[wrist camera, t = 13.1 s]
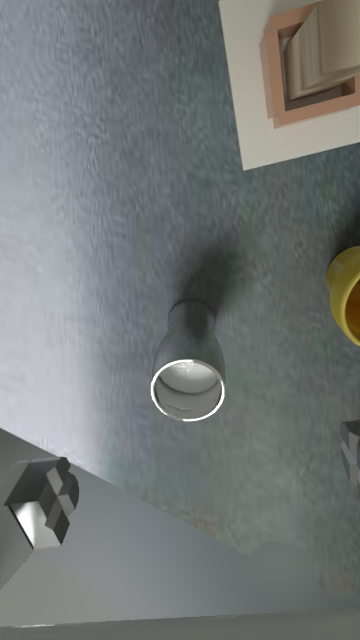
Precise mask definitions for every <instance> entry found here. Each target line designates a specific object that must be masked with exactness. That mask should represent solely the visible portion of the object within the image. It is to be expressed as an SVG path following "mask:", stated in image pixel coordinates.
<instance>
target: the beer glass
mask: <svg viewBox="0 0 360 640" xmlns="http://www.w3.org/2000/svg"><path fill="white" fill-rule="evenodd" d="M215 323H216V322H215V316H214V314H213V312H212V310H211V309H210V308H209V307H208V306H207V305H206V304H204V303H202V302H200V301H196V300H187V301H183V302H180V303H179V304H177V305H176V306H174V307H173V309H172V310H171V311H170V313H169V316H168V320H167V325H168V332H167V333H166V334H165V336H164V338H163V339H162V341H161V343H160V345H159V347H158V349H157V352H156V355H155V359H154V364H153V370H152V382H151V387H150V391H151V397H152V400H153V402H154V404H155V405H156V407H157V408H158V409H159V410H160V411H161V412H162V413H163V414H165V415H166V416H168V417H170V418H172V419H175V420H179V421H185V422H193V421H199V420H203V419H205V418H208V417H210V416H211V415H213V414H214V413H215V412H216V411H217V410H218V409H219V408H220V407H221V405H222V404H223V401H224V399H225V394H226V388H225V362H224V357H223V352H222V349H221V347H220V344H219V342H218V340H217V338H216V336H215V334H214V330H215Z"/></svg>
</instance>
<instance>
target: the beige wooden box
mask: <svg viewBox="0 0 360 640" xmlns="http://www.w3.org/2000/svg"><path fill="white" fill-rule="evenodd" d="M283 56H284V67H285V78H286V89H287V99H288V102H290V101H294V100H297V99H301V98H305V97H308V96H312V95H316V94H320V93H323V92H327V91H331V90H332V89H334V88H336V87H337V86H339V85H340V84H342V83H344V82H345V81H347V80H348V79H350V78H352V77H353V76H355V75H356V74H358V73H360V0H322V1H318V3H317V4H316V6H315V7H314V9H313V10H312V11H311V13H310V14H309V16H308V17H307V19H306V20H305V22H304V23H303V24H302V26H301V27H300V29H299V30H298V32H297V33H296V34H295V36H294V37H293V39H292V40H291V42H290V43H289V44H288V46H287V47H286V49H285V50H284V52H283Z"/></svg>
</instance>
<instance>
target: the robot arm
mask: <svg viewBox="0 0 360 640" xmlns="http://www.w3.org/2000/svg"><path fill="white" fill-rule="evenodd" d="M340 434H341V436H342V438H343V440H344V442H343V444H342V445H341V456H342V461H343V465H344V468H345V471H346V474H347V476H348V478H349V480H350V482H351V483H353V484H354V485H356V486H357V497H358V499H359V501H360V420H354V421H346V422H341V425H340ZM69 468H70V464H69V462H68V460H67V458H66V457H55V458H44V459H34V460H29V461H28V460H27V461H19V462H17V463H15V464H14V465H13V467H12V469H11V470H10V471H9V473H8V475H7V476H6V478H5V479H4V481H3V482H2V484H1V485H0V590H1V589H2V588H3V586H4V585H5V584H6V583H7V582H8V581H9V579H10V578H11V577H12V576H13V574H14V573H15V572H16V571H17V570H18V569H19V568H20V566H21V565H22V564H23V563H24V562H25V561H26V559H27V558H28V557H29V556H30V555H31V554H32V552H33V549H41V548H48V547H49V548H50V547H57V546H61V545H62V543H63V540H64V537H65V535H66V532H67V529H68V527H69V524H70V523H69V520H68V516H69V515H70V514H71V513H72V512H73V511H74V510H75V508H76V505H77V502H78V497H79V486H78V481H77V479H76V477H75V476H74V475H73V474H71V473H70V472H68V471H69ZM0 640H360V608H355V609H354V608H353V609H335V610H315V611H297V612H278V613H258V614H238V615H219V616H200V617H183V618H182V617H181V618H161V619H144V620H143V619H142V620H123V621H106V622H84V623H65V624H46V625H26V626H8V627H0Z"/></svg>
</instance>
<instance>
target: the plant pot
mask: <svg viewBox="0 0 360 640" xmlns="http://www.w3.org/2000/svg"><path fill="white" fill-rule="evenodd" d="M359 279H360V246H355V247H351V248H348V249H346V250H344V251H343V252H341V253H340V254H339V255H337V256H336V257H335V258H334V260H333V261H332V262H331V264H330V265H329V268H328V270H327V274H326V282H327V286H328V289H329V292H330V308H331V312H332V315H333V317H334V319H335V321H336V322H337V324H338V325H339V327H340V328H341V329H342V331H343V332H344V333H345V334H346V335H347V337H348V338H349V339H350V340H351V341H353V342H354V343H355V344H356V345H358V346H360V280H359ZM358 280H359V281H358Z"/></svg>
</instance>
